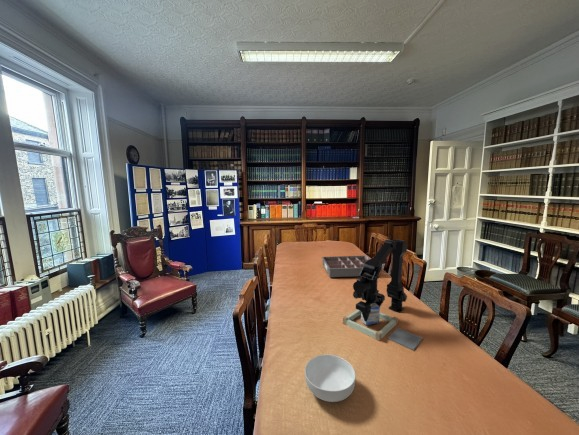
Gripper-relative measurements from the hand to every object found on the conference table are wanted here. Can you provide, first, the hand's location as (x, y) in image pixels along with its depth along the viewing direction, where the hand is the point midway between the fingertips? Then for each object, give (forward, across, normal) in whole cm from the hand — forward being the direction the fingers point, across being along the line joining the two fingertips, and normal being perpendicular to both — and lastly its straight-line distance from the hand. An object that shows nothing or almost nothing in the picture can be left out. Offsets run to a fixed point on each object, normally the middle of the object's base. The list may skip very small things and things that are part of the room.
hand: (370, 317), depth 119 cm
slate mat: (+3, 0, +17) cm, 17 cm away
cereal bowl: (+3, +46, +10) cm, 47 cm away
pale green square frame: (+3, 0, 0) cm, 3 cm away
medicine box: (+2, 0, 0) cm, 2 cm away
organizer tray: (+4, -58, -50) cm, 77 cm away
